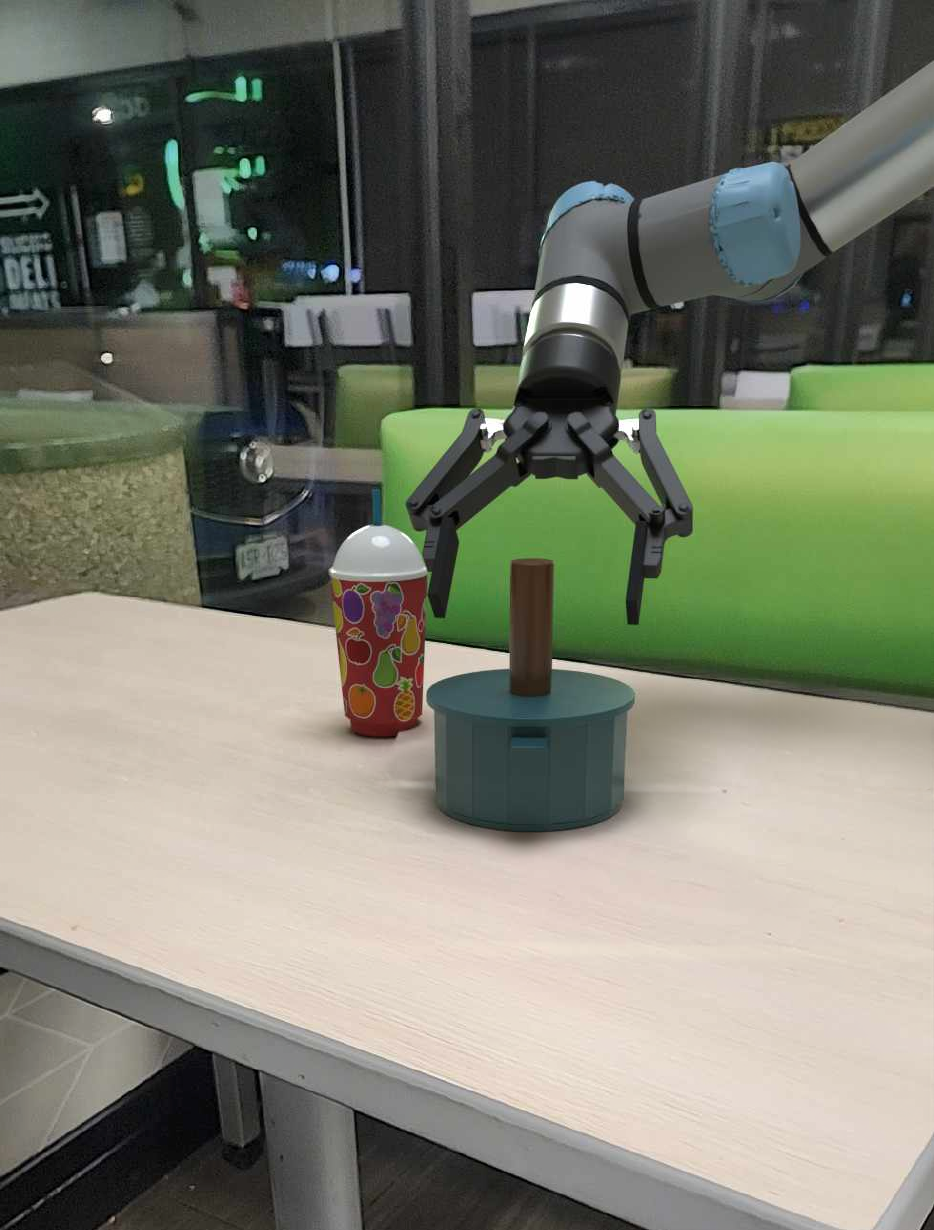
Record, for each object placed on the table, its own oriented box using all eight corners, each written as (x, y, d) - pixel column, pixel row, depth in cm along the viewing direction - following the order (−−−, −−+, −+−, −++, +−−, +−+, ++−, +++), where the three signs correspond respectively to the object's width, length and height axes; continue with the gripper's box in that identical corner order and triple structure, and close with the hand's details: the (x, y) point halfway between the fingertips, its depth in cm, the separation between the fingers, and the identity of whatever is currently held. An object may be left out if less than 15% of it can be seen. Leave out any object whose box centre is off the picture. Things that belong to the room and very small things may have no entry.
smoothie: (416, 713, 116) (411, 483, 108) (443, 736, 109) (440, 492, 101) (327, 721, 113) (315, 487, 105) (349, 745, 106) (337, 496, 98)
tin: (615, 763, 101) (619, 670, 98) (629, 847, 84) (634, 737, 81) (446, 761, 102) (445, 668, 99) (425, 844, 85) (423, 735, 82)
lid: (628, 684, 97) (634, 546, 92) (641, 737, 83) (649, 578, 79) (435, 682, 97) (433, 545, 93) (417, 734, 84) (413, 577, 80)
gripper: (740, 406, 95) (716, 647, 87) (418, 406, 100) (370, 634, 92) (744, 326, 88) (718, 581, 80) (398, 331, 93) (344, 571, 86)
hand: (532, 610), depth 86 cm, fingers open, 13 cm apart
